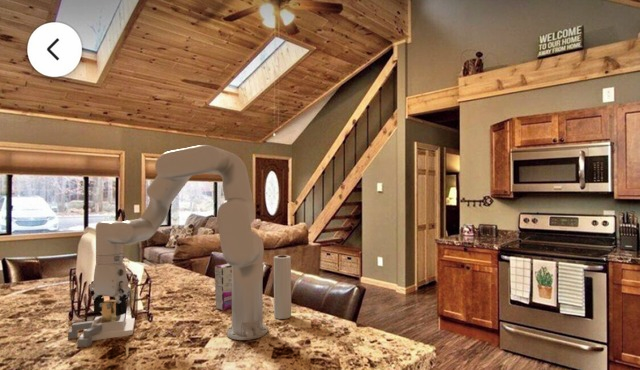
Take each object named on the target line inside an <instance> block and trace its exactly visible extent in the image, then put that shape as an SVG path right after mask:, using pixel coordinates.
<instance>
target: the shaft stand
mask: <svg viewBox="0 0 640 370" xmlns="http://www.w3.org/2000/svg"><path fill="white" fill-rule="evenodd" d="M126 313H127V312H126ZM126 313H125V314H123V315H120V316H117V321H113V322H106V323H102V315H101V316H100V315H99V316H95V318H94V320H88V321H80V322H73V323H72V324H71V328H69V330H68V331H67V340H72V339H73V340H74V339H76V338H77V337H78V334H79V332H78V331H82V332H81V334H80V336H79V338H78V339H77V341H76V342H77V344H76V346H77V347H79V348H80V347H81V348H87V347H88V348H89V346H91V345H93V341H98V340H106V339H111V338H118V337H119V338H120V337H126V336H132V335H133V334H134V328H135V324H136V318H135V317H132V318H131V317H130V318H127V317H126Z"/></svg>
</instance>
